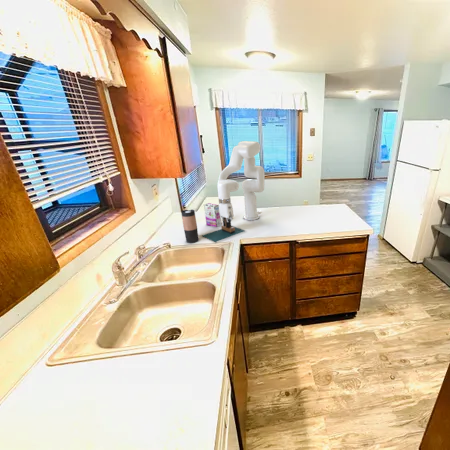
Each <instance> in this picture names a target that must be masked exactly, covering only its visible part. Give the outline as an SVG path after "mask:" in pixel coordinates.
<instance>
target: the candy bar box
mask: <svg viewBox="0 0 450 450" xmlns="http://www.w3.org/2000/svg"><path fill="white" fill-rule="evenodd" d="M203 208H204V209H203V210H204V216H205V223H206V224H205V225H206V226H209V227H214V228H218V227H221V226H222V218H221V216H220V213H219V204H217V203H212V202H211V203H210V202H208V203H204V204H203Z"/></svg>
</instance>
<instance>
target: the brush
mask: <svg viewBox="0 0 450 450" xmlns="http://www.w3.org/2000/svg"><path fill="white" fill-rule="evenodd" d="M224 221H225V226H223V225H221V226H220V228H221V229H222V231H224V232H227V233H229V234H232V233H234V232H235V228H234V227H235V226H233V225H231V227H229V228H227V224H226V222H227V219H226V218H225V219H224ZM232 226H233V227H232Z"/></svg>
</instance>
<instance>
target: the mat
mask: <svg viewBox="0 0 450 450" xmlns="http://www.w3.org/2000/svg"><path fill="white" fill-rule="evenodd" d="M231 226H232V227H234V228H235V232H234V233H232V234H229V233H227V232H224V231H222V228H221V229H218V230H215V231H212V232H209V233H205V234H203V235H201V236H202V237H203V238H205V239H207V240H210V241H211V242H214V243H218V242H219V241H220V242H221V241H222V240H224V239H228V238H230V237H233V236H236V235H238V234H241V233H244V232H245V231H246V230H244V229H242V228H239V227H236V226H234V225H231Z"/></svg>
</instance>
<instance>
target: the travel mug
mask: <svg viewBox="0 0 450 450" xmlns="http://www.w3.org/2000/svg"><path fill="white" fill-rule="evenodd" d="M180 213H181V220H182V225H183V226H182V227H183V231H184V236H185V237H184V238H185V241H186V243H188V244H194V243H197V242H198V241H199V233H198V232H199V231H198V225H197V219H196V211H195V209H190V210H189V209H183V210H181V211H180Z"/></svg>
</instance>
